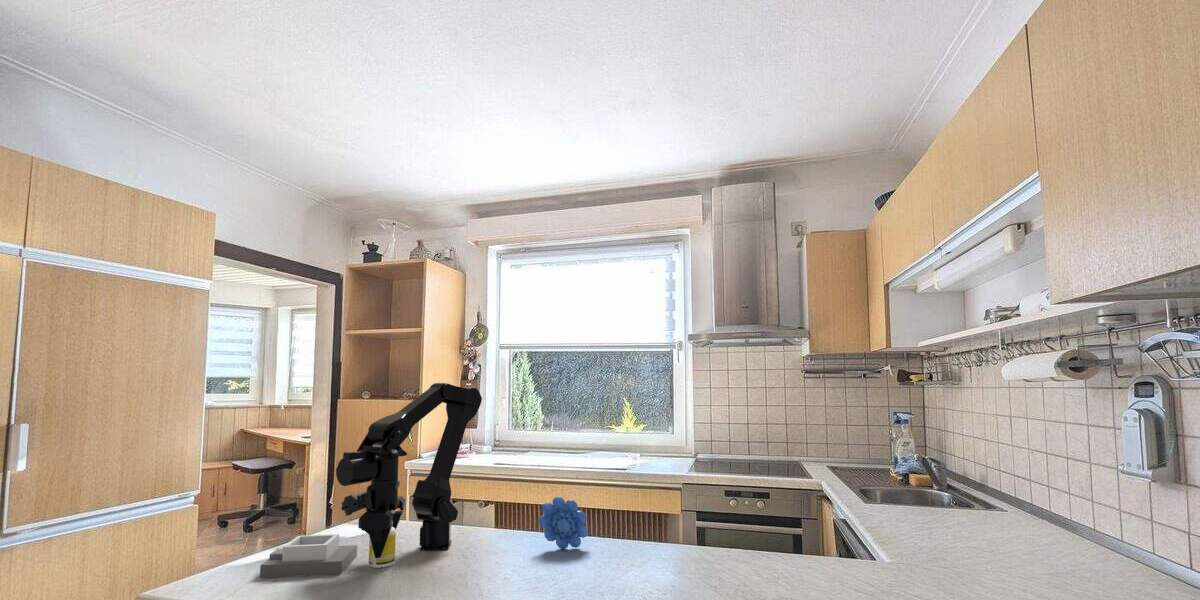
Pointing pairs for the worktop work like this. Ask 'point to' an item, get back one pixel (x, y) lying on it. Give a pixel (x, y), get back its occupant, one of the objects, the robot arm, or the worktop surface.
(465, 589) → the worktop surface
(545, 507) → the blue flower
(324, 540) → the stepped tray stack
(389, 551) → the supplement bottle
